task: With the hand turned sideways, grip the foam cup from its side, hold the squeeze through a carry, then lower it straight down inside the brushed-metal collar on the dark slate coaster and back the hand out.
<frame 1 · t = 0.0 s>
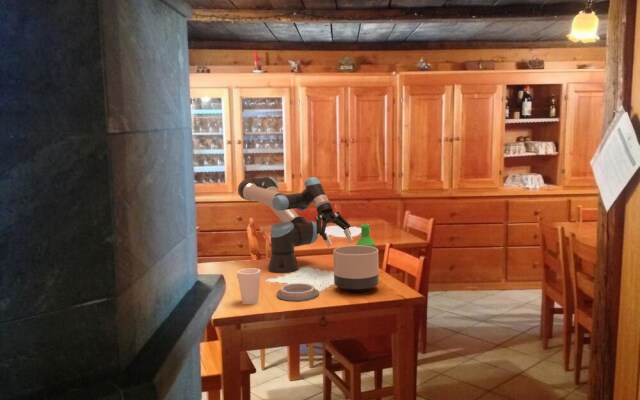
hand: (340, 243, 257), 15 cm above the table, tool tilted 35°, fingers open, 13 cm apart
planter: (356, 290, 234), on the table
foam cup: (250, 302, 220), on the table
bottle: (366, 276, 256), on the table
collar coaster: (297, 294, 228), on the table
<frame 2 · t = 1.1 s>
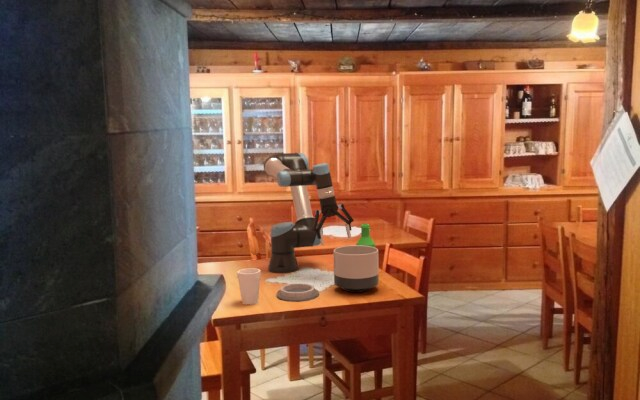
hand: (336, 241, 249), 18 cm above the table, tool pointing down, fingers open, 13 cm apart
nothing on the table moved.
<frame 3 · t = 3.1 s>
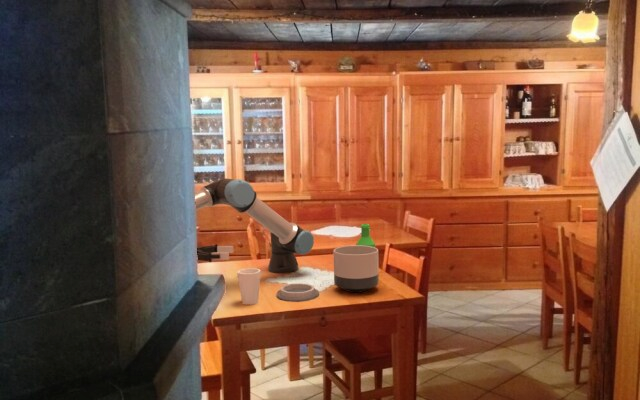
hand: (231, 252, 217), 21 cm above the table, tool horizontal, fingers open, 13 cm apart
nothing on the table moved.
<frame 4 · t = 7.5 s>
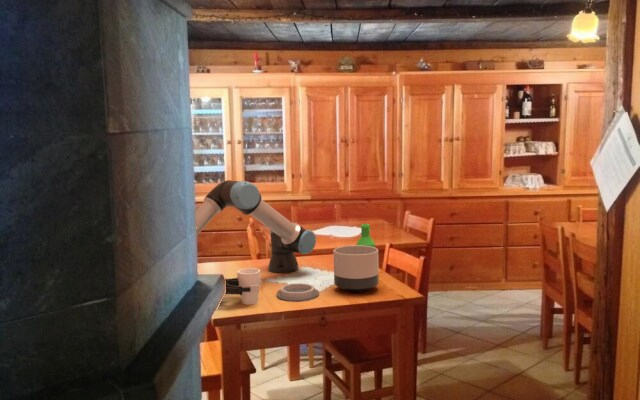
hand: (260, 285, 219), 7 cm above the table, tool horizontal, fingers closed on foam cup, 9 cm apart
foam cup: (250, 302, 220), on the table, touching gripper
everything else where it was.
when the fingers open (9 cm above the table, at t = 12.5 s): foam cup drops 1 cm, resting on collar coaster.
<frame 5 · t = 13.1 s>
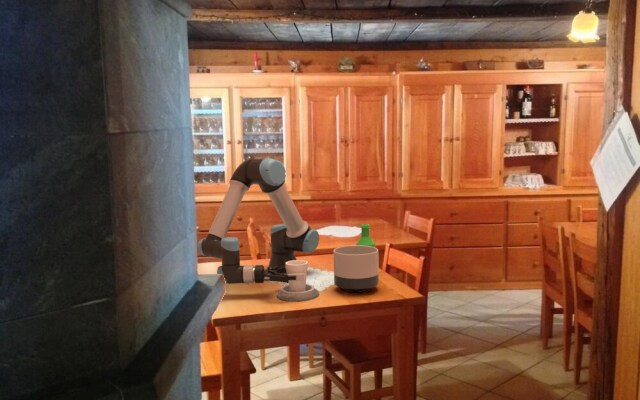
hand: (304, 272, 227), 9 cm above the table, tool horizontal, fingers open, 13 cm apart
foam cup: (297, 293, 228), point 1 cm above the table, touching collar coaster
everything else where it was.
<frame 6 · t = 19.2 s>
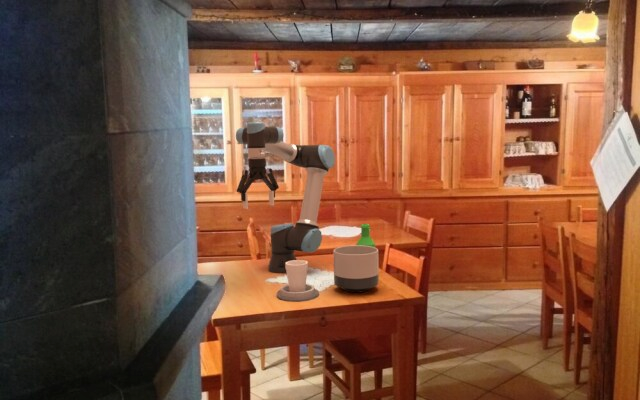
hand: (258, 207, 233), 37 cm above the table, tool pointing down, fingers open, 13 cm apart
nothing on the table moved.
at the end: foam cup 0.1 cm off-centre on the collar coaster, point 0.8 cm above the collar coaster's base; foam cup tilted 0°; the gripper is holding nothing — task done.
